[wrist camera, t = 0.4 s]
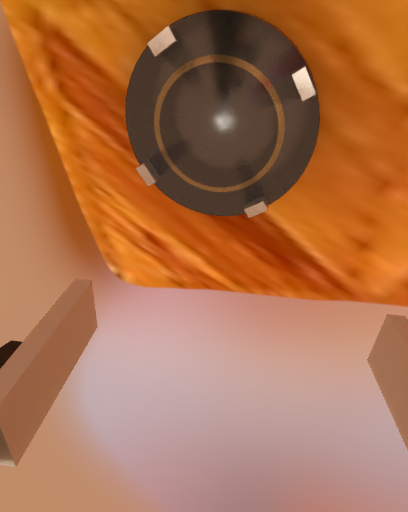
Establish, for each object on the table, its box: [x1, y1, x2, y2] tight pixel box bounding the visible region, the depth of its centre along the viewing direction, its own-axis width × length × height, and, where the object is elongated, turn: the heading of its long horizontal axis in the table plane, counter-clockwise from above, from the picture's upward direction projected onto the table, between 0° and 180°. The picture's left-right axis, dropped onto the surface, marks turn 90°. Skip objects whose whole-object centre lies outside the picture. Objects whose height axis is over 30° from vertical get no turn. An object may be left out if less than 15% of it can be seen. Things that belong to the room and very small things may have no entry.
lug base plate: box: [126, 10, 319, 218], centre depth 33 cm, size 20×20×3 cm
